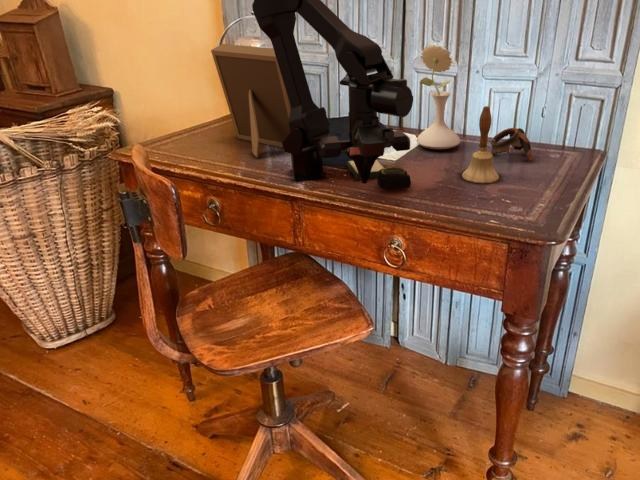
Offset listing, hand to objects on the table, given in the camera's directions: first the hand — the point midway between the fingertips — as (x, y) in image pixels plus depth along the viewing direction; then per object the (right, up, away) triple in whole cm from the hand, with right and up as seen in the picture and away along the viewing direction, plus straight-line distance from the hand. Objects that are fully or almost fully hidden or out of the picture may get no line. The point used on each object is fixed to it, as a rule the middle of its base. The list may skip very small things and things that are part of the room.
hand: (364, 183), depth 123 cm
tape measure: (+7, -1, +3) cm, 7 cm away
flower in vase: (+19, +14, +29) cm, 37 cm away
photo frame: (-28, +14, +30) cm, 43 cm away
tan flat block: (+1, +4, +12) cm, 13 cm away
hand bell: (+27, +2, +8) cm, 28 cm away
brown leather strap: (+37, +10, +21) cm, 44 cm away
